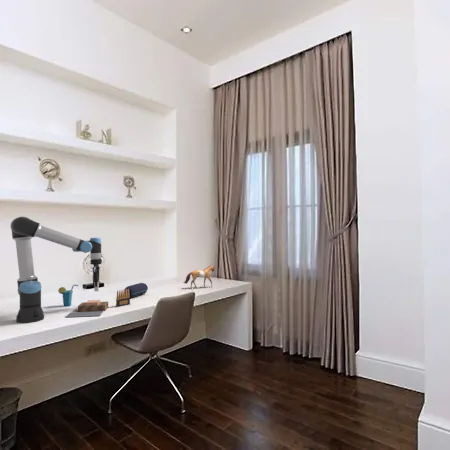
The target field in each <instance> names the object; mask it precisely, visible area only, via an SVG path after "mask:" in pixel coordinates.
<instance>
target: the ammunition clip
mask: <svg viewBox="0 0 450 450" xmlns="http://www.w3.org/2000/svg"><path fill="white" fill-rule="evenodd" d="M125 306H131V298H129V289H128V291H127V289H126V291H125V289H121V290H118V289H117V291H116V301H115V307H117V308H120V307H125Z"/></svg>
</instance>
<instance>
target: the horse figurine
mask: <svg viewBox="0 0 450 450" xmlns="http://www.w3.org/2000/svg"><path fill="white" fill-rule="evenodd" d="M211 272H212V274H214V273H215V265H209V266H207V267H206V268H204V269H203V270H201V269H200V270H199V269H195V270H193V271H191V272H189V273H187V275H186V276H185V277H186V278H185V280H184V282H183V283H184V284H186V285H187V284H188V283H189V281H190V279H191V278H192V280H191V281H190V282H191V283H190V289H191V288H193V287H194V288H195V287H196V288H197V284H196V283H195V281H196V280H197V278H201V279H202V278H203V287H204V288H205V286H206V279H207V280H209V283H210V284H211V285H210V287H211V288H213V281H212V279H211ZM193 285H194V286H193Z"/></svg>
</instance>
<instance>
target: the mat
mask: <svg viewBox="0 0 450 450" xmlns="http://www.w3.org/2000/svg"><path fill="white" fill-rule="evenodd" d="M103 312H104V311H93V312H78V311H77V312H76V311H75V312H74V311H73V312H69V313H68V314H67V315H66V316H64V318H65V319H66V318H67V319H68V318H71V319H72V318H85V317H86V318H87V317H88V318H89V317H92V318H93V317H101V316H102V314H103Z"/></svg>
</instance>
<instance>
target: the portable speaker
mask: <svg viewBox="0 0 450 450" xmlns="http://www.w3.org/2000/svg"><path fill="white" fill-rule="evenodd" d="M126 289H127V291H128V289H129V298H130V299H133V298H135V297H139V296H142V295H145V294H146V293H147V292H148V289H149V288H148V285H147V284H146V283H144V282H139V283H135V284H132V285H129V286H128V285H127V286H126V287H125V288H124V290H125V291H126Z"/></svg>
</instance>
